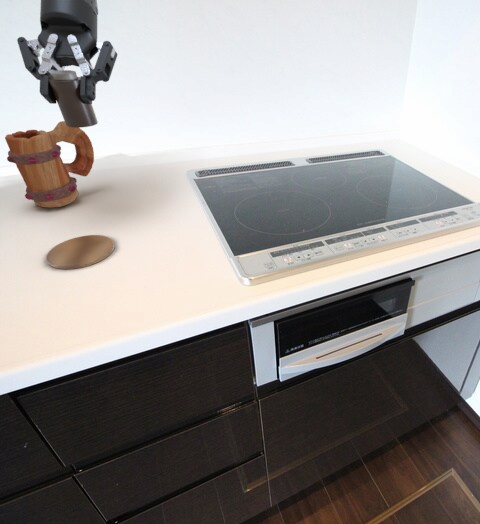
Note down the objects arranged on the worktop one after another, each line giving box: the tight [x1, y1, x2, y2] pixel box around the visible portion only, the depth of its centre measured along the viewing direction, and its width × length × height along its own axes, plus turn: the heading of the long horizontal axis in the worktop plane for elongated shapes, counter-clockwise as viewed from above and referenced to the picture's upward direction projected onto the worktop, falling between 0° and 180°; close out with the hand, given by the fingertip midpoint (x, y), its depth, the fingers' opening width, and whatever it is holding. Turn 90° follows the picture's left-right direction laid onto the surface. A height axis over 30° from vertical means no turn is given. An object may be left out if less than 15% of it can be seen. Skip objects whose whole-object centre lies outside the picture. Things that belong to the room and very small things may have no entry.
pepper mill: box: [49, 69, 99, 129], centre depth 60 cm, size 5×5×8 cm
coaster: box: [45, 234, 115, 270], centre depth 62 cm, size 10×10×1 cm
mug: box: [4, 120, 95, 208], centre depth 73 cm, size 15×8×15 cm, turn 148°
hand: (68, 100), depth 58 cm, fingers closed on pepper mill, 4 cm apart
